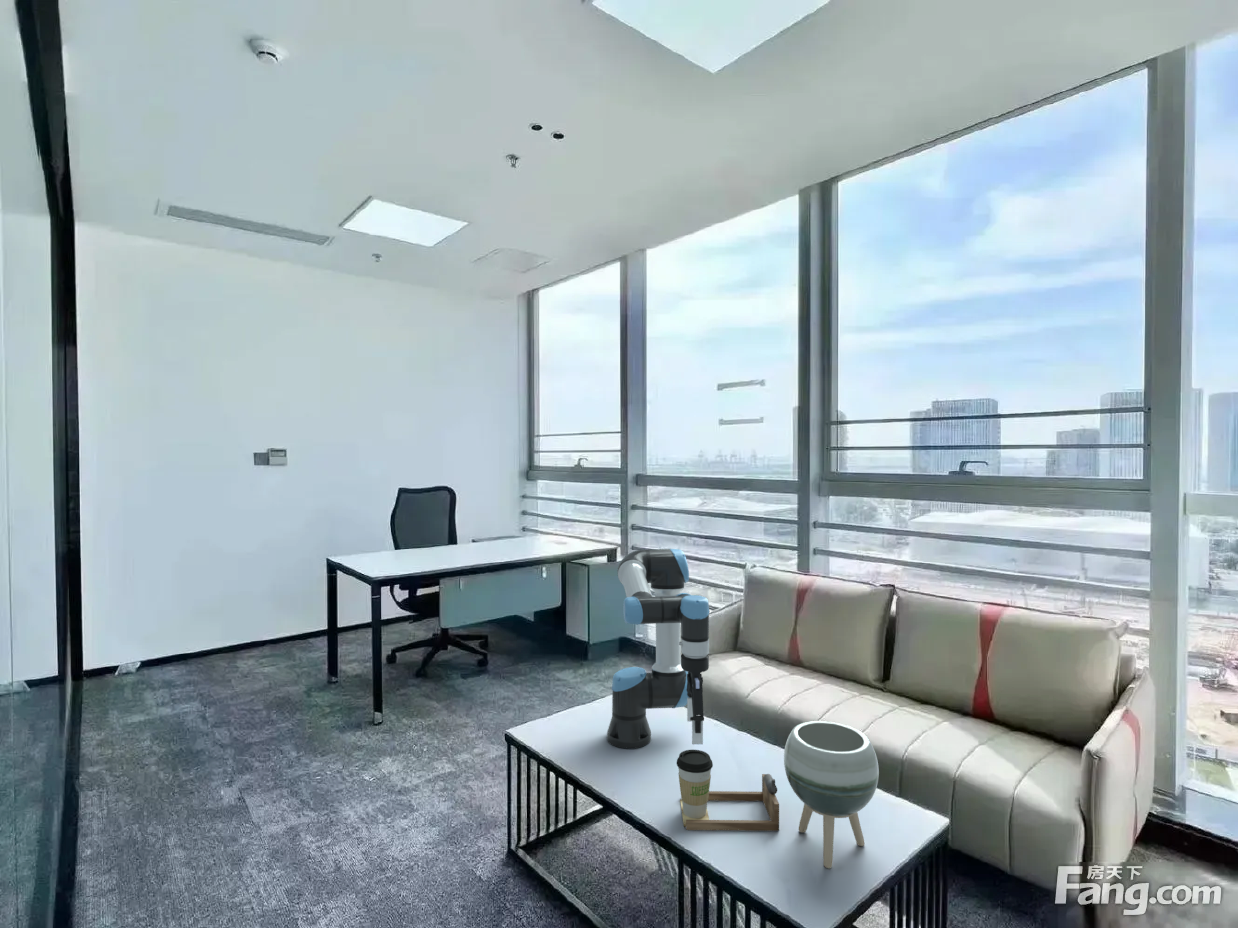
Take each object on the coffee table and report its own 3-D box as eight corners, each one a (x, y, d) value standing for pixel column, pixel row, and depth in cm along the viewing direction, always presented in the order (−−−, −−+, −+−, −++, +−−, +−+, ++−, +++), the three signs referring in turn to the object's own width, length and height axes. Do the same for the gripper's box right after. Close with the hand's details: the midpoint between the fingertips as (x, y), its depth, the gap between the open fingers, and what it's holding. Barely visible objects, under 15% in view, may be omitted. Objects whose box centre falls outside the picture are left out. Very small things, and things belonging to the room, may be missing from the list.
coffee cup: (711, 824, 162) (711, 767, 162) (674, 819, 164) (674, 763, 164) (713, 803, 171) (713, 749, 171) (678, 799, 173) (678, 746, 173)
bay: (679, 797, 175) (679, 758, 175) (768, 798, 174) (768, 758, 174) (684, 829, 160) (684, 786, 160) (781, 830, 159) (781, 787, 159)
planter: (826, 888, 138) (826, 765, 138) (765, 833, 158) (765, 725, 158) (899, 862, 147) (899, 746, 147) (832, 813, 167) (832, 711, 167)
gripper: (677, 639, 179) (677, 712, 180) (684, 670, 154) (684, 754, 155) (703, 640, 179) (703, 712, 180) (715, 670, 154) (714, 754, 155)
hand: (694, 731), depth 167 cm, fingers open, 13 cm apart
